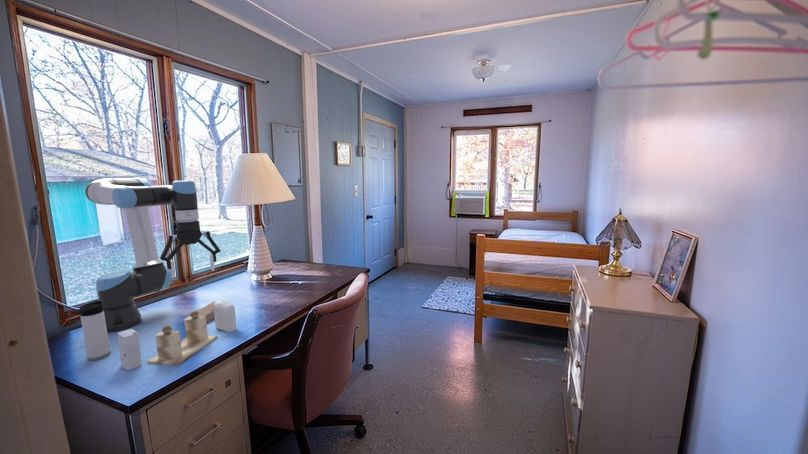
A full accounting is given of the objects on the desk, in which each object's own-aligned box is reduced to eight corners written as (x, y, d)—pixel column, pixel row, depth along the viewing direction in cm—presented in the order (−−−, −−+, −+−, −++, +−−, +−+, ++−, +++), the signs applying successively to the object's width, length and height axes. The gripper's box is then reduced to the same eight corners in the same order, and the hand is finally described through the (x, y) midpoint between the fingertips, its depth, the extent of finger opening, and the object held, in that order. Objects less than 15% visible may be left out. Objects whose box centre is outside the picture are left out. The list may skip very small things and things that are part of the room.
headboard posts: (147, 363, 119) (142, 329, 117) (190, 336, 139) (187, 306, 137) (177, 365, 117) (173, 331, 115) (217, 337, 137) (214, 308, 135)
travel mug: (115, 350, 128) (107, 300, 125) (100, 360, 121) (92, 307, 118) (98, 351, 127) (90, 300, 124) (82, 360, 121) (73, 307, 118)
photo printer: (238, 329, 144) (235, 301, 142) (228, 333, 141) (226, 305, 139) (223, 324, 149) (220, 297, 147) (214, 328, 146) (211, 300, 144)
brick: (203, 325, 149) (202, 315, 148) (187, 323, 151) (186, 313, 151) (230, 310, 165) (230, 301, 164) (216, 309, 167) (215, 300, 166)
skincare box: (120, 365, 118) (115, 333, 116) (136, 359, 121) (131, 328, 119) (127, 371, 114) (122, 337, 112) (143, 365, 118) (138, 332, 116)
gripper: (149, 225, 121) (156, 282, 124) (225, 218, 137) (230, 269, 141) (147, 222, 127) (154, 277, 130) (220, 216, 143) (225, 265, 146)
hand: (193, 273), depth 135 cm, fingers open, 13 cm apart
